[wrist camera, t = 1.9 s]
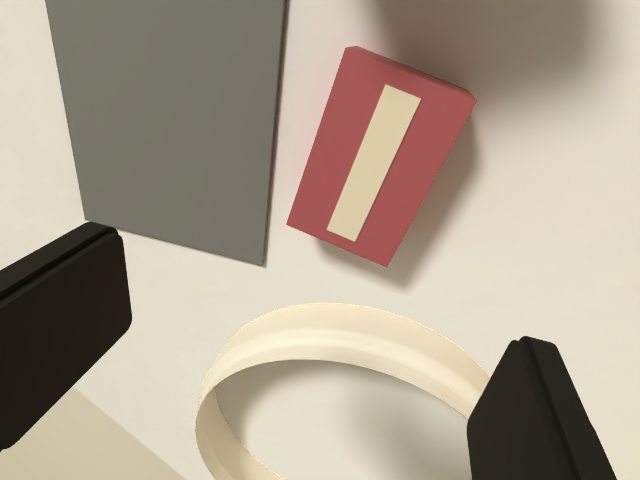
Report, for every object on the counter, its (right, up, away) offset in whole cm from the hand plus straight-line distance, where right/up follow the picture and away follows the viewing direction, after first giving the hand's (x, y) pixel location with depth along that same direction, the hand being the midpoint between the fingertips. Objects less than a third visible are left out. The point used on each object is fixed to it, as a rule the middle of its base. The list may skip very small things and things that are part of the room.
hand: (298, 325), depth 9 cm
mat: (-10, +11, +16) cm, 21 cm away
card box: (+4, +8, +14) cm, 17 cm away
